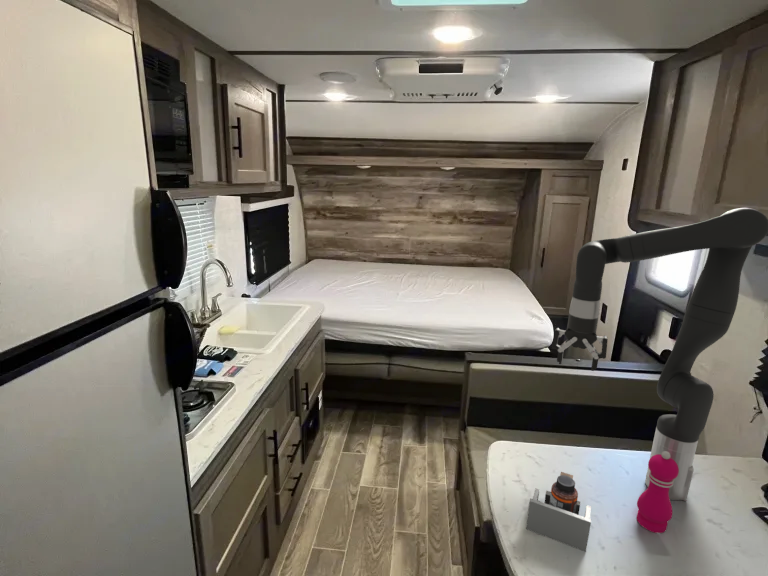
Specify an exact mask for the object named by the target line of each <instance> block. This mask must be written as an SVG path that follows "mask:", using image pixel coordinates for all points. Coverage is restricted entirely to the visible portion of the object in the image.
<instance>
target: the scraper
mask: <svg viewBox="0 0 768 576" xmlns="http://www.w3.org/2000/svg"><path fill="white" fill-rule="evenodd" d="M560 475H565V476H569V477H571V478H572V479H573V478H574V475H573V474H569V473H568V472H563V471H561V472H560V474H559V476H560ZM573 480H574V479H573ZM550 495H551V490H550V491H549V490H546V491H545V497H544V502H543V503H546V504H549V503H550ZM580 508H581V501H579V500H577V506H576V512H575V514H577V515H580V514H579V513H580Z"/></svg>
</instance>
